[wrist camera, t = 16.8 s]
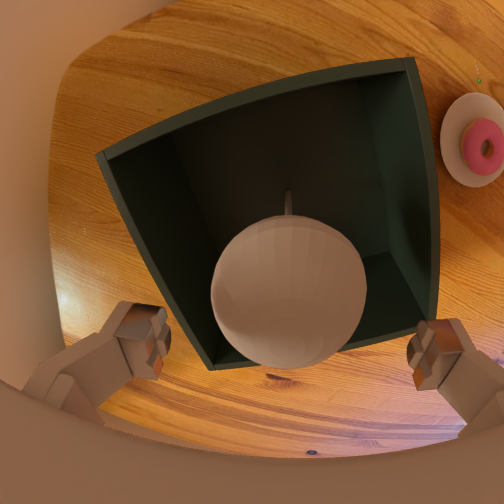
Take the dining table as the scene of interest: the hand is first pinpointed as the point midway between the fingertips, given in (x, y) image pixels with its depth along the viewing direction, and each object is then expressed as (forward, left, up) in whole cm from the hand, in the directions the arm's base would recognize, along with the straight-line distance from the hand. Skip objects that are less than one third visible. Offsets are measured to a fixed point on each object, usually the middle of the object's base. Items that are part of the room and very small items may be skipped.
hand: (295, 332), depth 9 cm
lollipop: (0, 0, -15) cm, 15 cm away
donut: (+11, +13, -15) cm, 23 cm away
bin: (0, 0, -15) cm, 15 cm away
